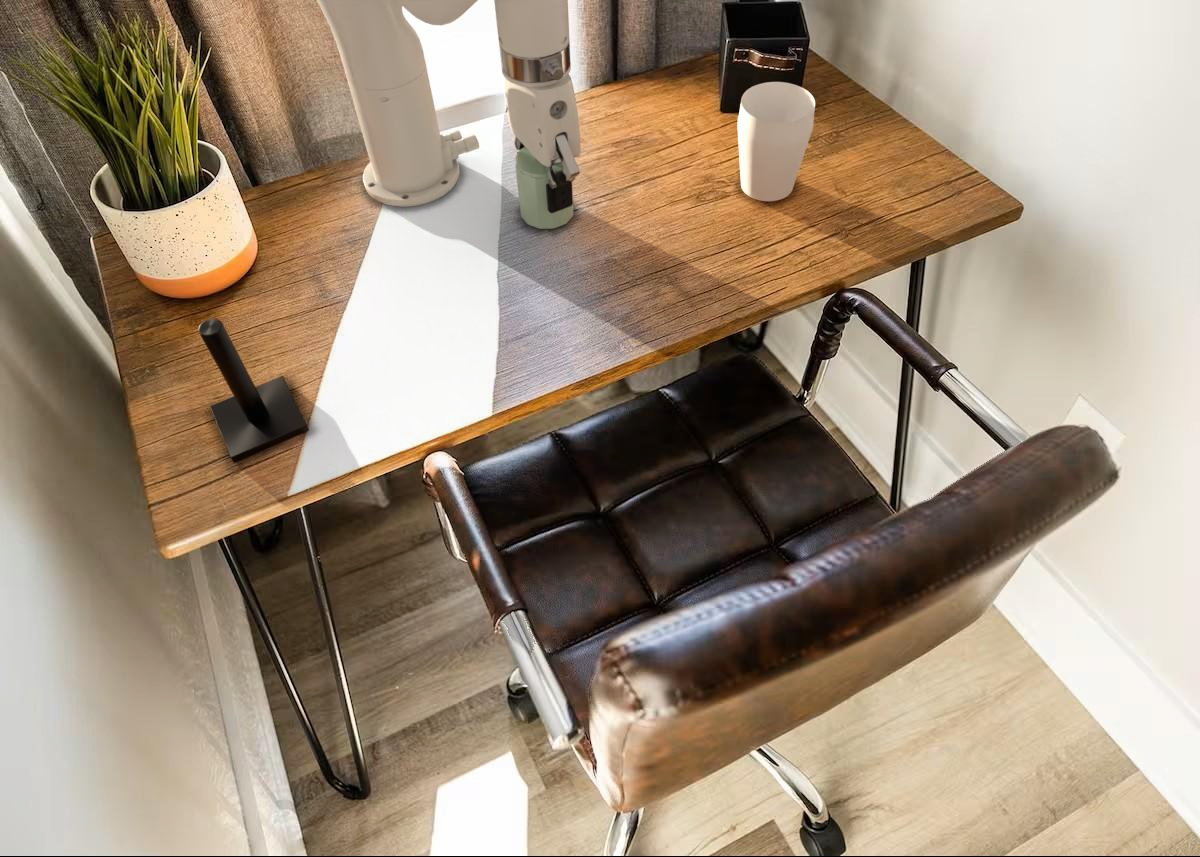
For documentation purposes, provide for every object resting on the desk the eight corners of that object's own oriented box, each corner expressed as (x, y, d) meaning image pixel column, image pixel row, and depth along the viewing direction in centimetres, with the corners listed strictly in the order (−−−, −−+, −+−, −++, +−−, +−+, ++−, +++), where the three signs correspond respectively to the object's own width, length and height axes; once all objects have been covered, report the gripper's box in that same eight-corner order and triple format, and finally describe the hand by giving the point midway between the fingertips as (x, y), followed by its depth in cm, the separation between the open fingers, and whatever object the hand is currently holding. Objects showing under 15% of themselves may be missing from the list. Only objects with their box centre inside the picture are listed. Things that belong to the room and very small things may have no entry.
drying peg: (285, 381, 97) (239, 285, 86) (309, 430, 93) (265, 336, 82) (212, 411, 95) (156, 317, 84) (234, 463, 90) (177, 371, 79)
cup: (720, 196, 114) (727, 112, 104) (747, 158, 119) (756, 74, 109) (787, 216, 111) (801, 131, 102) (812, 175, 116) (827, 91, 106)
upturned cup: (557, 189, 116) (554, 135, 109) (583, 217, 112) (580, 163, 106) (512, 206, 114) (506, 152, 107) (536, 235, 110) (531, 181, 104)
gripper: (606, 83, 93) (607, 220, 107) (528, 12, 102) (539, 146, 116) (542, 105, 91) (552, 242, 105) (469, 30, 100) (487, 165, 114)
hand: (545, 191), depth 110 cm, fingers closed on upturned cup, 6 cm apart
